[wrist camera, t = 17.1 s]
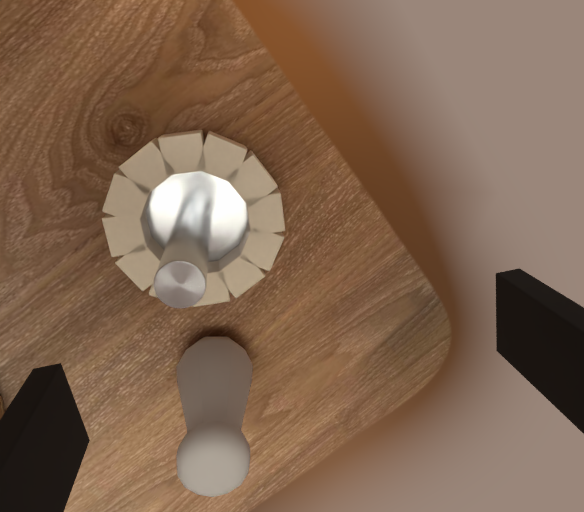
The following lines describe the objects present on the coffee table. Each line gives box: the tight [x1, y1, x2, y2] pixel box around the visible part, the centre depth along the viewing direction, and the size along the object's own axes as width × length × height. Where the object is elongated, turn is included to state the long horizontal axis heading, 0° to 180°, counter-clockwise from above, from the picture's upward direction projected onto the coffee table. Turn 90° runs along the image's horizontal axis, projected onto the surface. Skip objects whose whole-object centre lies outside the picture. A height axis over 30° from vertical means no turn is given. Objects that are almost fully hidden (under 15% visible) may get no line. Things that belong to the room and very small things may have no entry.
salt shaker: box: [177, 337, 253, 497], centre depth 34 cm, size 6×6×13 cm
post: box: [146, 171, 248, 308], centre depth 29 cm, size 8×8×14 cm
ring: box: [102, 130, 285, 307], centre depth 34 cm, size 12×12×2 cm
